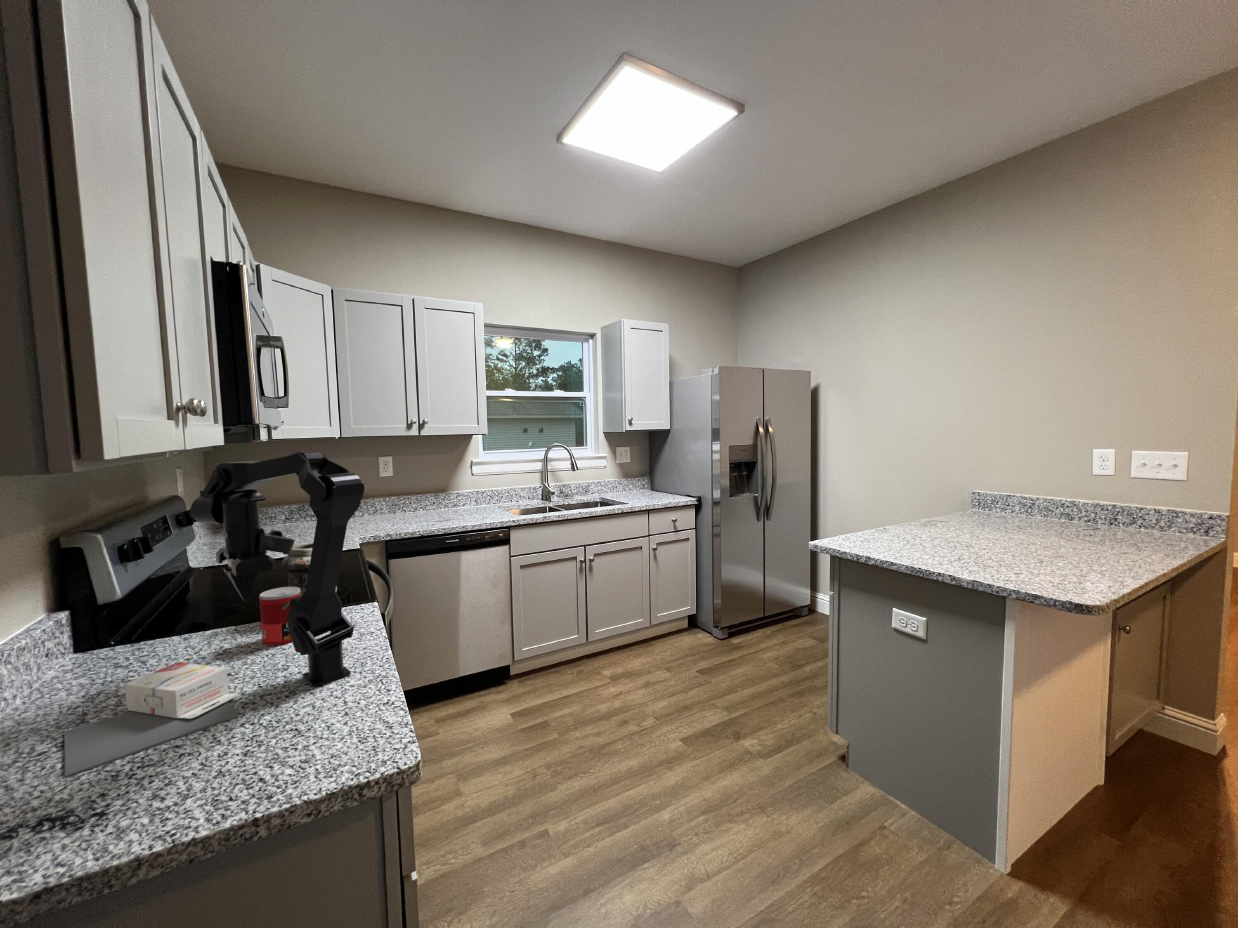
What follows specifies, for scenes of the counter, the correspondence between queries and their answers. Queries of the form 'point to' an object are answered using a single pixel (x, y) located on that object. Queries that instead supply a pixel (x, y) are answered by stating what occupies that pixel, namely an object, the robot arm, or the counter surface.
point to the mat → (131, 735)
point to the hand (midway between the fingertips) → (247, 601)
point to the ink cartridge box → (179, 691)
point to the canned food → (276, 614)
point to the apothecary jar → (298, 565)
